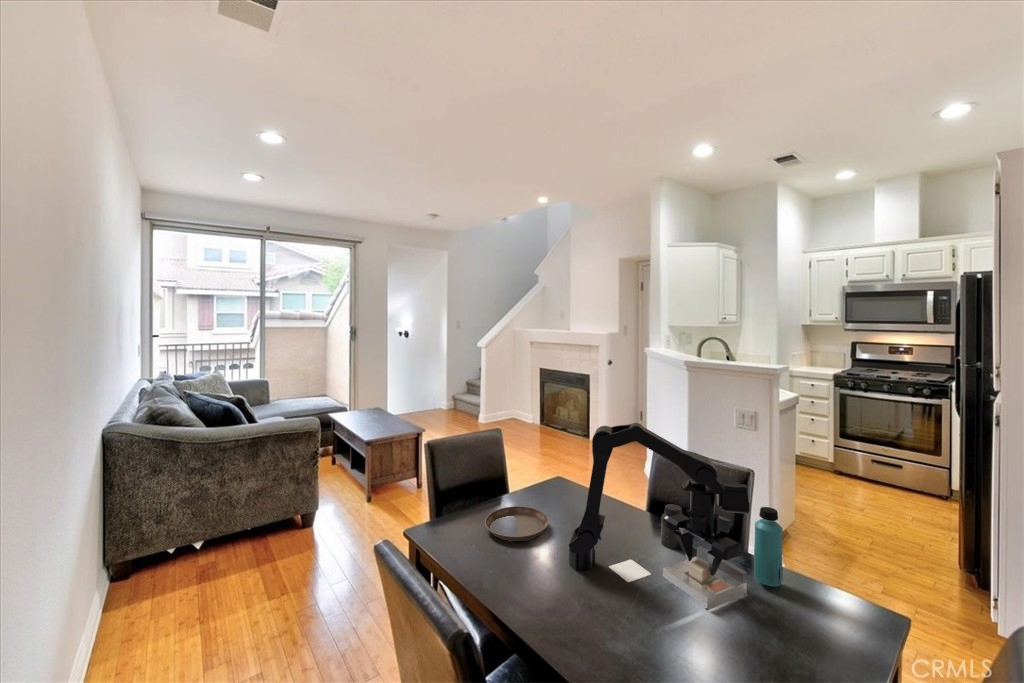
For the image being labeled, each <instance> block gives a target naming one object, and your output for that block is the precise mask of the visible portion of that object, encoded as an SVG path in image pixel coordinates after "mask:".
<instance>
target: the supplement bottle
mask: <svg viewBox="0 0 1024 683" xmlns="http://www.w3.org/2000/svg"><path fill="white" fill-rule="evenodd" d="M678 514H683V509H682V507H681V506H680V505H677V504H672V503H669V504H666V505H665V506H664V513H663V514H662V516H660V518H661V519H660V544H661V545H662V546H663V547H664V548H667V549H669V550H675V551H676V550H679V551H683V549H682V547H681V545H680V543H679V541H678V540H677V538H676V536H675V535H674V534H673V531H672V530H670V529H668V528H667V519H668V518H669V517H670V516H674V515H678Z"/></svg>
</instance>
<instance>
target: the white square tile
mask: <svg viewBox="0 0 1024 683" xmlns="http://www.w3.org/2000/svg"><path fill="white" fill-rule="evenodd" d="M608 568H609V569H611V571H613V572H615V574H617V575H618V576H619V577H621V578H622V579H623V580H625V582H627V583H631V582H633V581H636V580H639V579H642V578H645V577H648V576H651V575H652V573H651V572H649V571H648V570H646V569H645V568H644V567H643V566H641V565H640V564H638V563H637V562H636V561H634V560H633V559H627V560H624V561H621V562H619V563H618V562H617V563H615V564H612V565H609V566H608Z"/></svg>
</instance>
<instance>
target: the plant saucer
mask: <svg viewBox="0 0 1024 683" xmlns="http://www.w3.org/2000/svg"><path fill="white" fill-rule="evenodd" d="M506 516H514V517H515V518H516V519H517V520H516V522H514V523H515V525H518V527H520V528H519V529H518V531H516V532H518V533H517V534H518V535H516V536H506V535H501V534H498V533H495V532H493V531H492V530H490V525H491V523H492V522H493V521H495V520H496V519H499V518H502V517H506ZM484 524H485V526H486V527H485V528H486V529H487V530H488V532H489V533H490V534H492V535H493V536H495V538H497V537H498V538H497V539H499V538H500V539H499V540H502V539H503V541H505V540H508V541H507V542H512V541H521V542H528V541H530V540H531V541H532V540H533V539H535V538H537V537H538V536H540V535H541V534H543V532H544V531H545V530H546V528H547V526H548V524H549V518H548V516H547V515H546V514H545V513H544V512H543V511H541V510H539V509H536V508H532V507H530V506H529V507H528V506H518V505H517V506H508V507H502V508H500V509H496V510H495V511H492V512H490V513H489V514H488V515H487V517H485V521H484Z"/></svg>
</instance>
